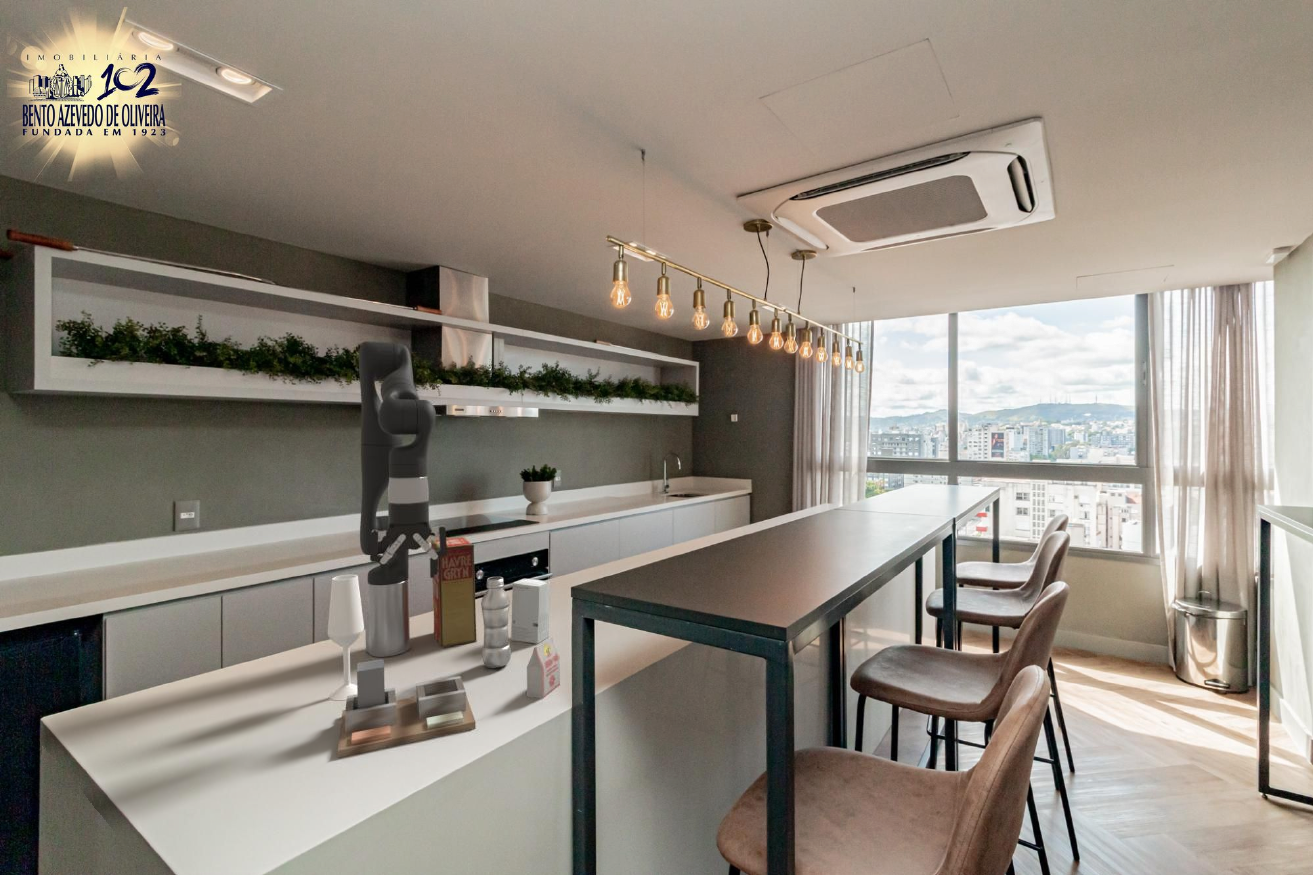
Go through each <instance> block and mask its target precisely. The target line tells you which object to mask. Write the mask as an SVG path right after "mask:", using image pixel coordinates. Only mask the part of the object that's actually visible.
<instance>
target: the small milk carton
mask: <svg viewBox="0 0 1313 875" xmlns="http://www.w3.org/2000/svg"><path fill="white" fill-rule="evenodd" d="M560 660H561V658H560V655H559V653H558V650H557V648H556V645H555V642H554V638H553V637H552V636H549V637H548V638H547V639H545V640H543V641H541V642H540V643H538V644H537V645H536V646H535V647H533V650H532V654H531V657H530V659H529V660H528V664H527V665H526V688H527V689H526V696H527V697H532V698H538V699H544V698H546V697H547V696H549V694H551V693H552V692H553V691H555V689H557V688H558V687H559V686H561V684H560V683H561V671H560V669H561V667H560V665H561V663H560V662H561V661H560Z"/></svg>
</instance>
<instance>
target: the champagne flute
mask: <svg viewBox="0 0 1313 875" xmlns="http://www.w3.org/2000/svg"><path fill="white" fill-rule="evenodd" d="M330 588H331V589H330V600H329V601H330V602H329V609H328V610H329V611H328V622H327V624H328V625H327V636H328V637H329V640H331V641H332V642H333V643H334V644H336V645H337V646H339V647H342V649H343V650H342V651H343V652H342V653H343V655H342V656H343V658H342V660H343V684H342V685H341V686H340V687H339V688H337V689H335V690H334V691H333V692H331V693H330V694H329V696H328V698H329V699H330V700H331V701H346V700H347V696H350V695H356V694H357V684H354V683H351V654H350V651H351V650H350V649H351V648H350V647H351V646H352V645H353V644H355V642H357V640H358V639H359V638H360V637H361V635H362V634H363V632H364V630H365V623H364V615H363V607H362V600H361V592H360V583H359V575H358V574H340V575H338V576H334V577H332V578H331V586H330Z"/></svg>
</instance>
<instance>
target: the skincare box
mask: <svg viewBox="0 0 1313 875" xmlns="http://www.w3.org/2000/svg"><path fill="white" fill-rule="evenodd" d="M511 595H512V596H511V598H512V599H511V628H510V629H511V631H510V635H511V636H510V639H511V641H512V642H513V641H514V642H520V643H521V642H522V643H531V644H536V645H539V644H541V643H542V642H544V641H545V640H547V639H549V638H550V605H551V604H550V603H551V601H550V600H551V581H547V580H540V579H529V578H522V579H519V580H517V581H514V582H512V594H511Z"/></svg>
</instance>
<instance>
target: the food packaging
mask: <svg viewBox="0 0 1313 875" xmlns="http://www.w3.org/2000/svg"><path fill="white" fill-rule="evenodd" d="M446 542H447V555H445V556H441V557H439V558H438V573H437V575H434V578H431V579H432V580H431V581H432V600H433V601H432V602H433V604H432V605H433V635H434V636H435V639H436V641H437V643H438V646H439V647H440V648H441V649H443V648H447V647H448V646H449V647H453V646H454V645H455V646H460V645H465V644H470V643H475V642H477V620H476V619H477V616H476V580H475V578H476V577H475V545H474V544H473V543H471V542H470V541H469V540H468V539H466V538H465V537H464V536H463V537H452V538H446ZM430 545H431V547H432V548H433V549H434V550H435V551H437V550H439V549H440V542H439V539H433V540H431V541H430ZM442 647H443V648H442Z"/></svg>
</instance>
